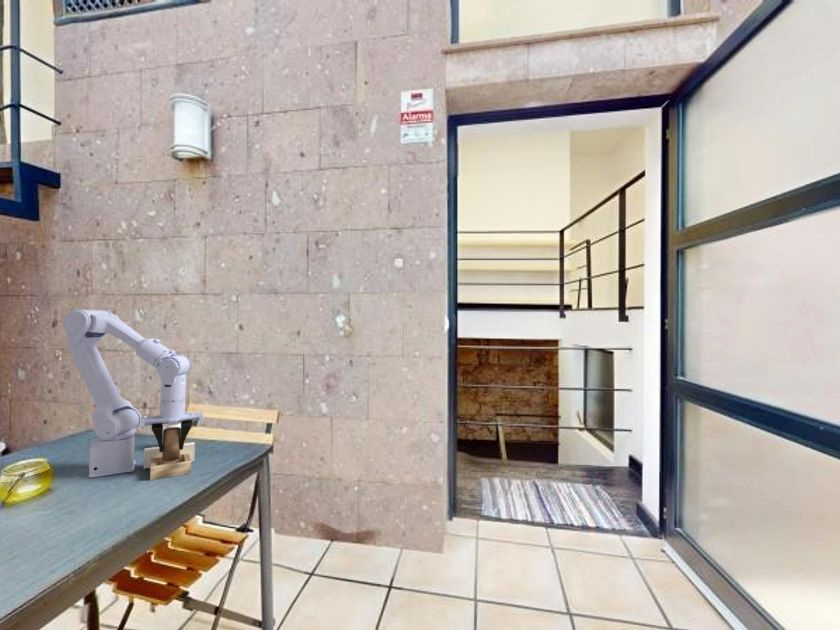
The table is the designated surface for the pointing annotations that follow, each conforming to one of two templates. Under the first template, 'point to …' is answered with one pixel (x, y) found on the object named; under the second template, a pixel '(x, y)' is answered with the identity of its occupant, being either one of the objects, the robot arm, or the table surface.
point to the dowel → (171, 444)
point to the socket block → (170, 467)
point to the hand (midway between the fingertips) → (171, 449)
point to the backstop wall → (155, 452)
